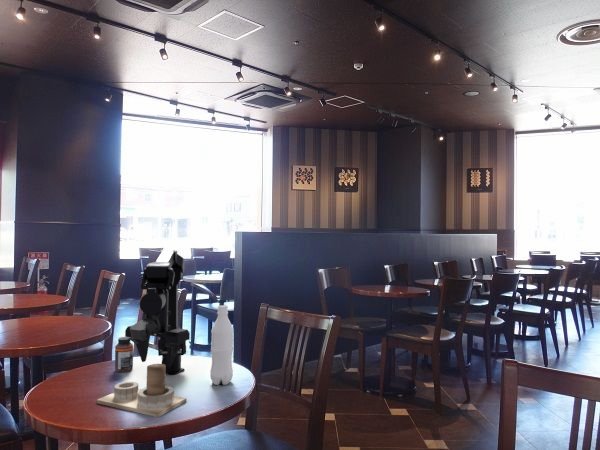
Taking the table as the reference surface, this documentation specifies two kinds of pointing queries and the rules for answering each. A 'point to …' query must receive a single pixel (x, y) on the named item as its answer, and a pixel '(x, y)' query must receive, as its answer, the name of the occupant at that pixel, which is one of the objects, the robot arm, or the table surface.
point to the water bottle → (222, 348)
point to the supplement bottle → (123, 355)
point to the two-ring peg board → (141, 399)
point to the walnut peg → (156, 379)
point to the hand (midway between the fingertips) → (156, 363)
